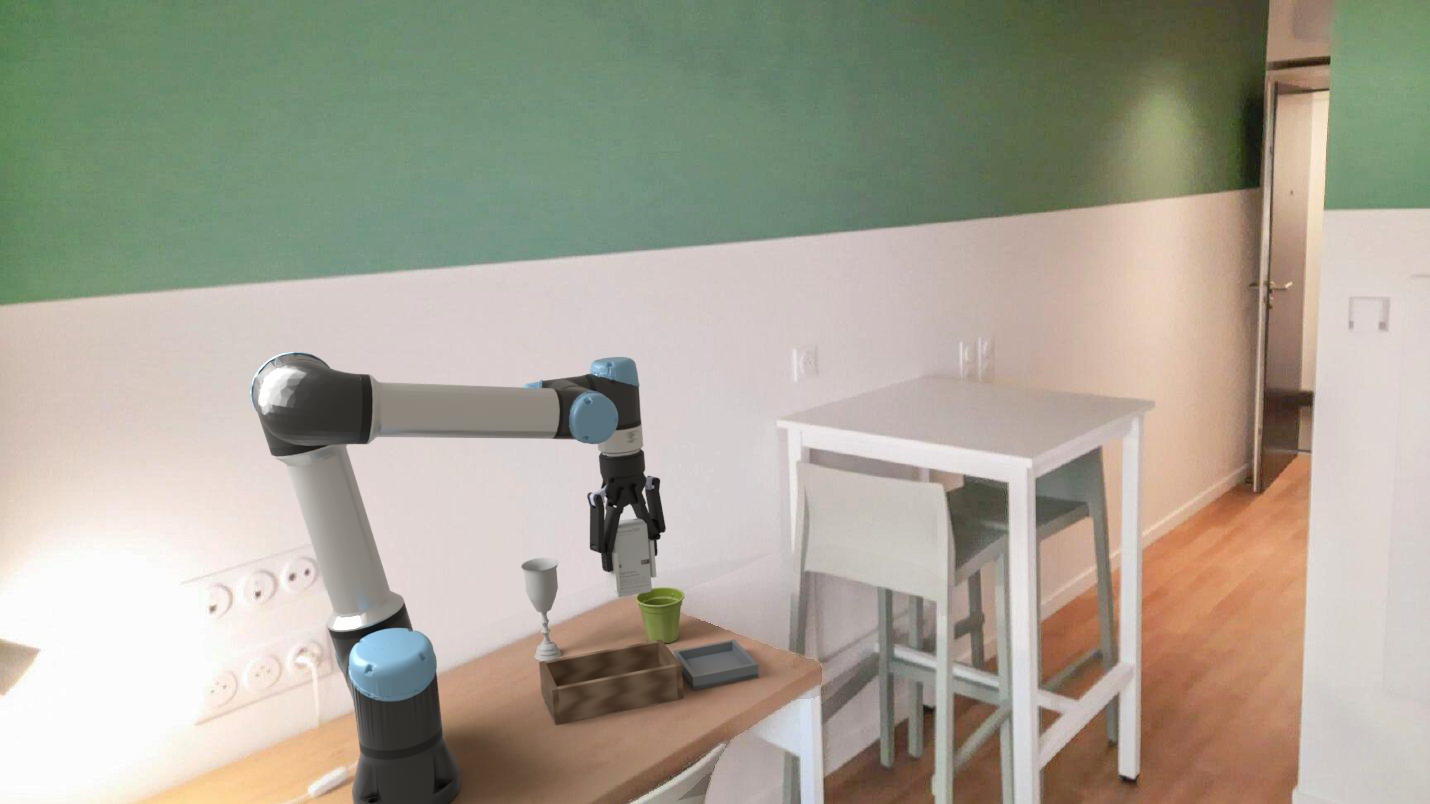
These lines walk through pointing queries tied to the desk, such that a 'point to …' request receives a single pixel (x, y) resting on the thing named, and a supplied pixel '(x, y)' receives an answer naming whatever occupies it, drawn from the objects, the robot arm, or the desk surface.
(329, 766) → the desk surface
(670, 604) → the plant pot
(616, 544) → the skincare box
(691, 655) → the charcoal tray
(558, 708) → the walnut box
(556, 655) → the chalice
